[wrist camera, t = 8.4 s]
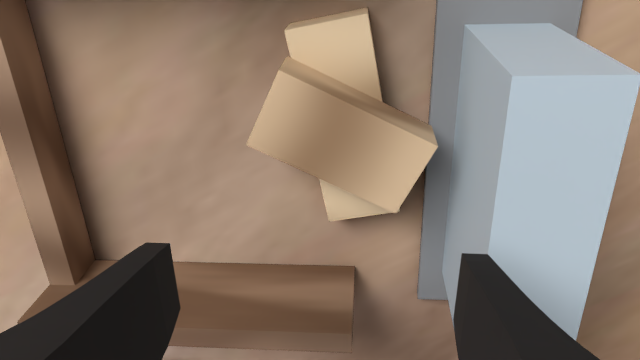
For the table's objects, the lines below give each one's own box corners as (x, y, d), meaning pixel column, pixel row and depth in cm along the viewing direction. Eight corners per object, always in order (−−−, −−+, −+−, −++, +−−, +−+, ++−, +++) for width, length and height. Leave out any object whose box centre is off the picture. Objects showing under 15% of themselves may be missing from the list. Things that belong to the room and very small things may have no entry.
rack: (354, 283, 25) (351, 353, 21) (76, 275, 26) (23, 340, 22) (354, -126, 17) (349, -140, 13) (-37, -110, 19) (-149, -118, 15)
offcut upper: (431, 126, 20) (437, 146, 18) (393, 188, 21) (395, 213, 19) (287, 56, 19) (278, 70, 17) (256, 125, 20) (246, 145, 18)
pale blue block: (509, 273, 23) (560, 401, 17) (442, 271, 24) (468, 397, 17) (549, 23, 19) (642, 74, 12) (464, 24, 19) (512, 76, 13)
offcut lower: (397, 189, 23) (400, 211, 21) (331, 199, 24) (329, 221, 22) (367, 5, 20) (367, 13, 18) (291, 21, 20) (284, 30, 18)
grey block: (524, 296, 24) (526, 302, 24) (417, 293, 25) (417, 298, 24) (582, -21, 18) (586, -19, 18) (437, -17, 19) (438, -16, 18)
